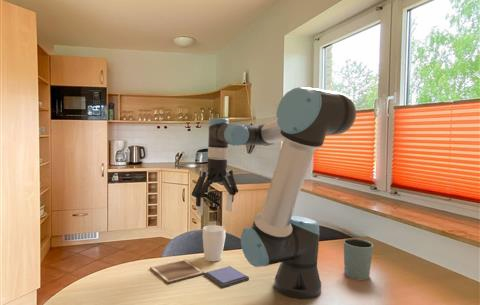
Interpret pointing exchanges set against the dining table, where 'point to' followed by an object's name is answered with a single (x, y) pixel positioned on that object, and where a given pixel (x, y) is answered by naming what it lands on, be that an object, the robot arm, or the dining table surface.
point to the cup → (213, 242)
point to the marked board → (176, 271)
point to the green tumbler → (357, 258)
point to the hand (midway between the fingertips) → (214, 212)
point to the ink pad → (226, 276)
